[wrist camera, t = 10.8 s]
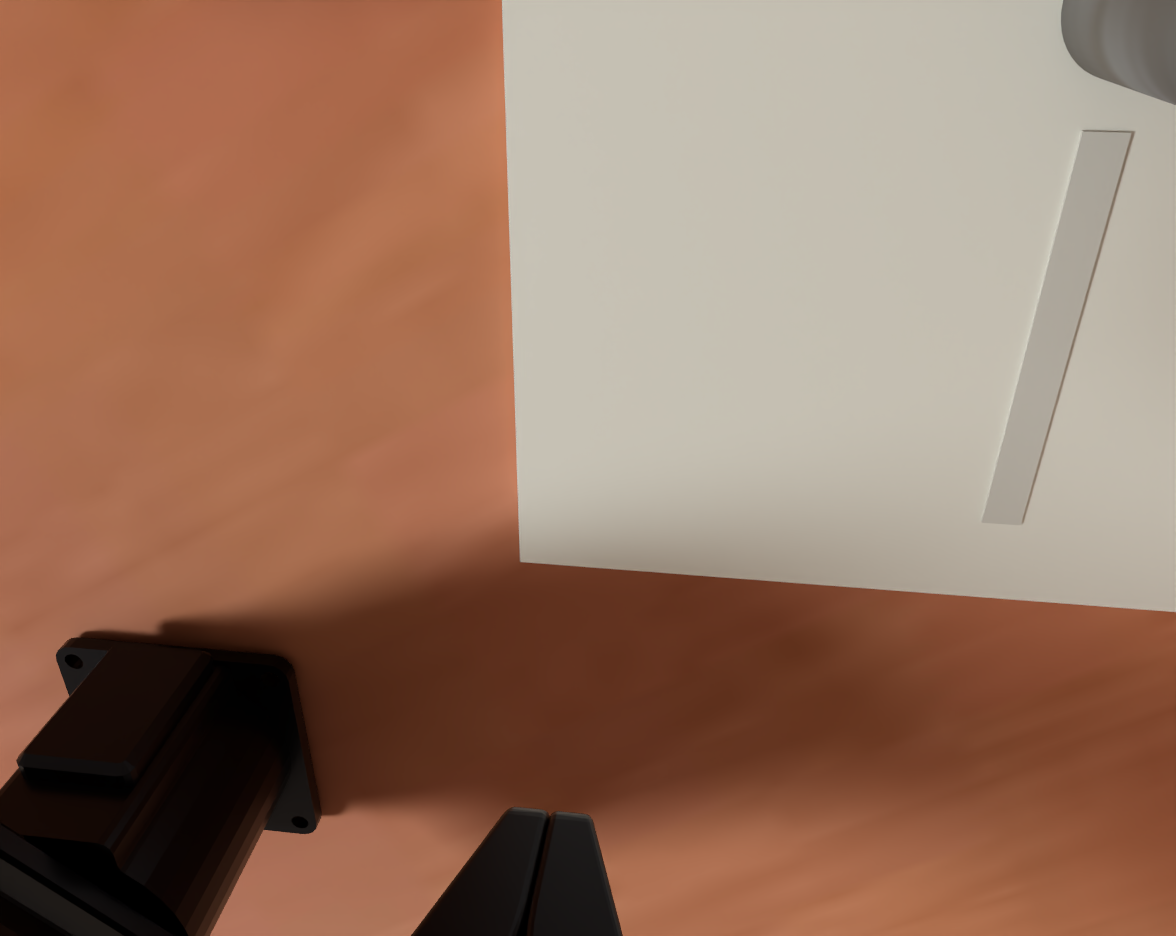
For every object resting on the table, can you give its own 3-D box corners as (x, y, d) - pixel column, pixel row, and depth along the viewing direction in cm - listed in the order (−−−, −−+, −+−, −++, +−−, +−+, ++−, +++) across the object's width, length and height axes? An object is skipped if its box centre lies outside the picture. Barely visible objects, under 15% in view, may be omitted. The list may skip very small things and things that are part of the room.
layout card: (1375, 616, 21) (1388, 630, 20) (522, 552, 22) (519, 563, 22) (2299, -1110, 10) (2369, -1156, 9) (478, -957, 11) (469, -990, 11)
